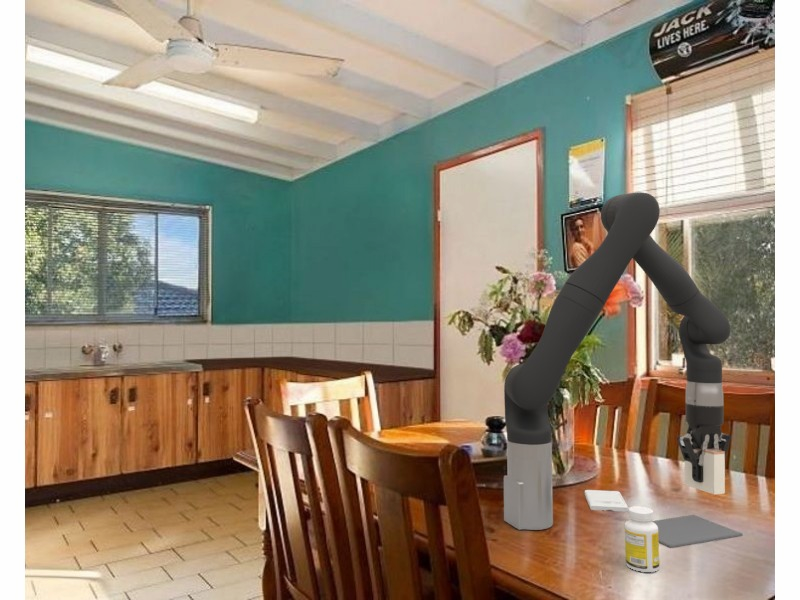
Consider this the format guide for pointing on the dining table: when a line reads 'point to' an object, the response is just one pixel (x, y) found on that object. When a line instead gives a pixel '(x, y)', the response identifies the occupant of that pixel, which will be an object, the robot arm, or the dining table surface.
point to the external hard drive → (606, 500)
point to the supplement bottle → (641, 540)
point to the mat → (691, 531)
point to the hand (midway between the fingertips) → (704, 480)
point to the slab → (709, 472)
